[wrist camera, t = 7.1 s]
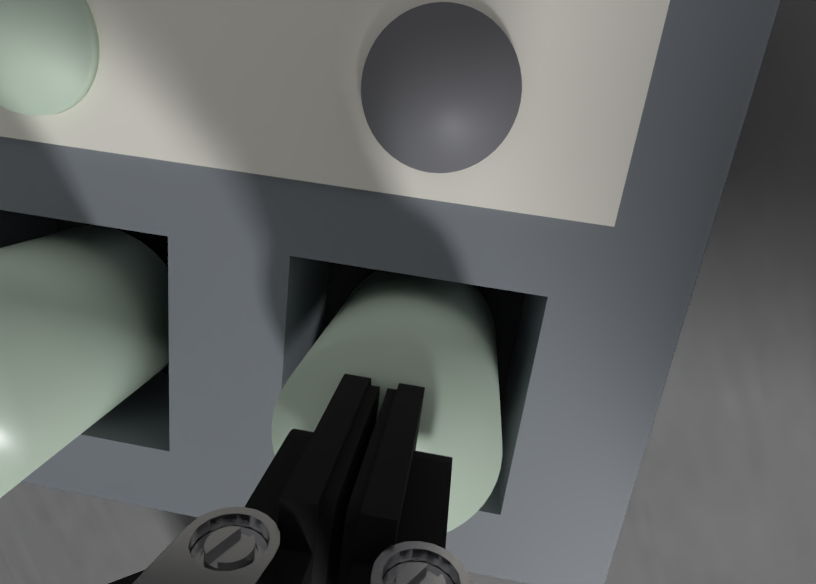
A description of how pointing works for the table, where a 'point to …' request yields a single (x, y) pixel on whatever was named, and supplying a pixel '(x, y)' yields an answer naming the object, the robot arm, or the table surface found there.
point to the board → (388, 217)
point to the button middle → (74, 337)
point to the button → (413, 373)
